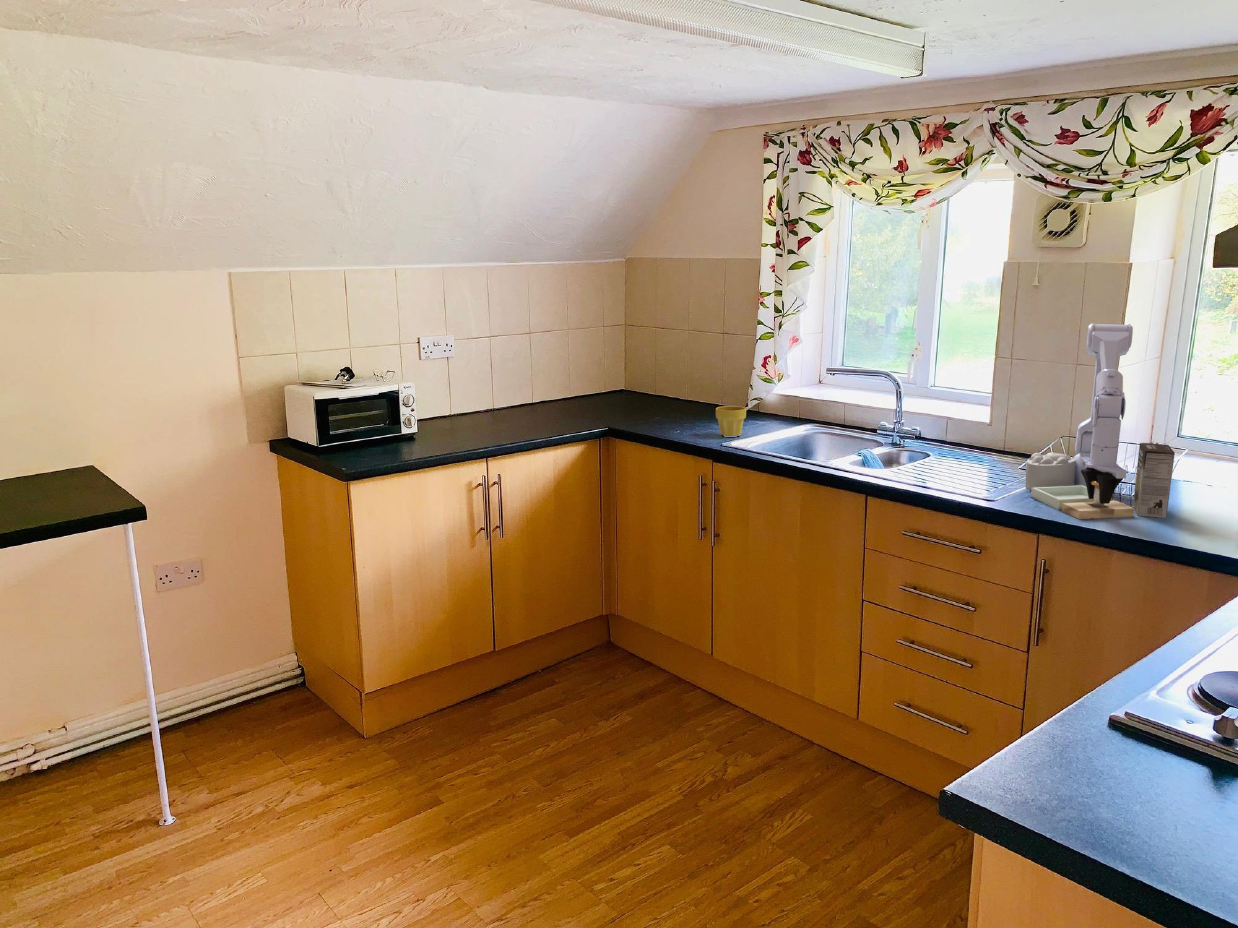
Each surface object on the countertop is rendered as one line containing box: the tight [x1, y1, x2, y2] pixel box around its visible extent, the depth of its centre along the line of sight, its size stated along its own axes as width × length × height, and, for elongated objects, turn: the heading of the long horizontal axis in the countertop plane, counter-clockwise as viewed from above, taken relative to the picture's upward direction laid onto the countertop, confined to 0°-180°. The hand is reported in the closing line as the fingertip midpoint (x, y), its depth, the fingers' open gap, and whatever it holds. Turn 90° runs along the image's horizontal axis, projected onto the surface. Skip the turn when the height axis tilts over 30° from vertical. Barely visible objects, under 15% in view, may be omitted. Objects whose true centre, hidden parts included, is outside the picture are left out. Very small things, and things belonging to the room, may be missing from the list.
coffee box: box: [1132, 442, 1176, 519], centre depth 226 cm, size 9×6×16 cm
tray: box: [1030, 485, 1113, 510], centre depth 237 cm, size 12×14×2 cm
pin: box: [1091, 480, 1104, 508], centre depth 226 cm, size 4×4×8 cm
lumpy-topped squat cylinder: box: [1024, 451, 1076, 491], centre depth 251 cm, size 10×13×9 cm
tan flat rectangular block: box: [1061, 500, 1136, 520], centre depth 227 cm, size 7×14×2 cm, turn 98°
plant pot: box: [715, 405, 747, 436], centre depth 323 cm, size 10×10×10 cm
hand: (1098, 500), depth 226 cm, fingers closed on pin, 4 cm apart
